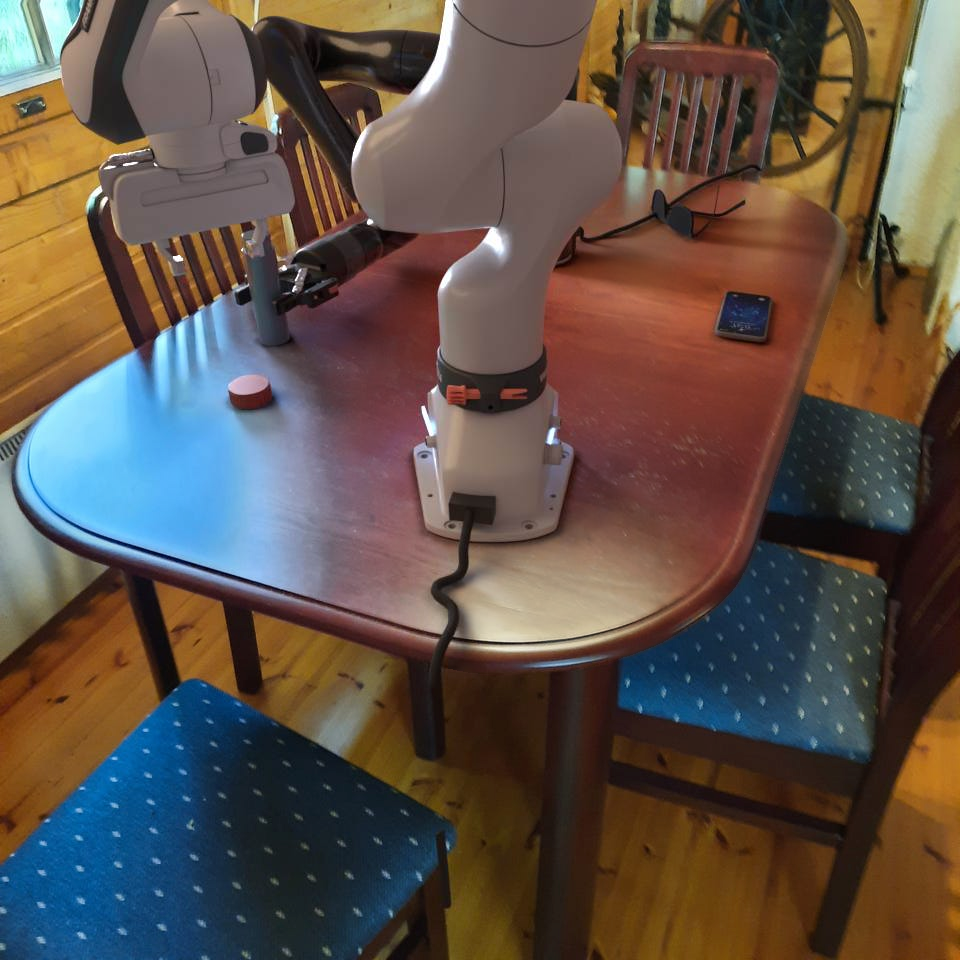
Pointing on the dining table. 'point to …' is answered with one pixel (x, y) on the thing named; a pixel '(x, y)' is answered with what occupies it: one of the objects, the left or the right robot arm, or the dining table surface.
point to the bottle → (265, 292)
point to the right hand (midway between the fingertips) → (256, 304)
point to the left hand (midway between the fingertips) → (218, 264)
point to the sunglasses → (682, 214)
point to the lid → (250, 391)
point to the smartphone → (744, 316)
